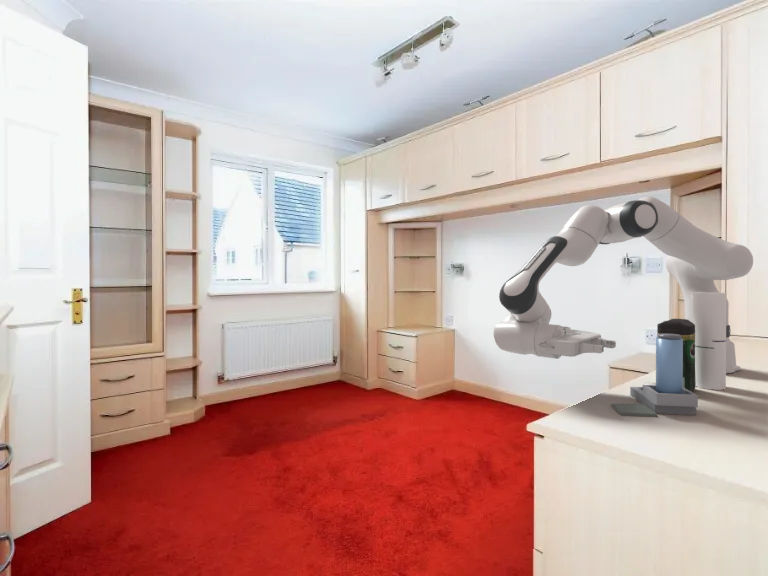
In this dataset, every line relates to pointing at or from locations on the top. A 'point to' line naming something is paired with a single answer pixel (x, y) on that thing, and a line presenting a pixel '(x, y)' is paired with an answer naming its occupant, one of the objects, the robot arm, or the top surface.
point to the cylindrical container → (710, 340)
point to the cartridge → (669, 364)
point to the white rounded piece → (649, 383)
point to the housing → (666, 400)
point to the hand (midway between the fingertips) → (609, 346)
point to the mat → (633, 409)
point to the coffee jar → (688, 336)
